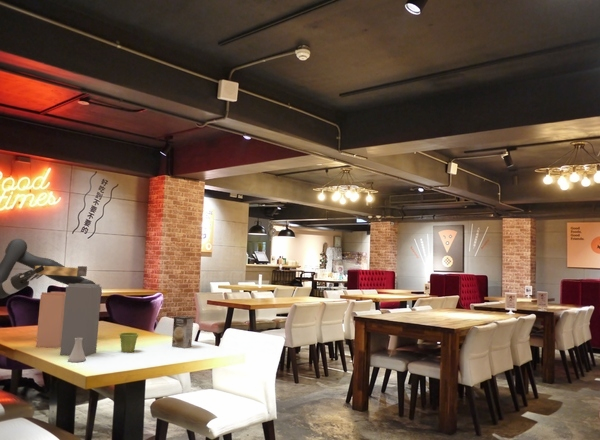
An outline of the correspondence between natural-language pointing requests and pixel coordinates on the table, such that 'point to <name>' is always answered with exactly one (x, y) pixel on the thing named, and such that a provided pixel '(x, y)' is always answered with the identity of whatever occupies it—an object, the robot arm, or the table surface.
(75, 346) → the flask
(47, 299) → the block
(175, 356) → the table surface
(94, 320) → the grey stand
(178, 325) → the coffee box
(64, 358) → the table surface
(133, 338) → the plant pot
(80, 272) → the wooden pin
